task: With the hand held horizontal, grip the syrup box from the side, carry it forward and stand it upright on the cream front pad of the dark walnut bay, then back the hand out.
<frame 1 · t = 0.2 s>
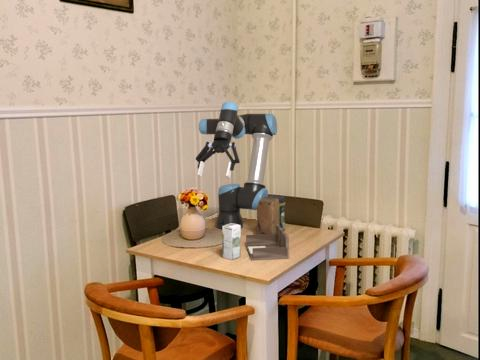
hand: (213, 176, 192), 35 cm above the table, tool tilted 35°, fingers open, 13 cm apart
coffee jar: (275, 229, 239), on the table
bay: (265, 251, 201), on the table
block: (267, 237, 224), on the table
syrup box: (231, 258, 193), on the table
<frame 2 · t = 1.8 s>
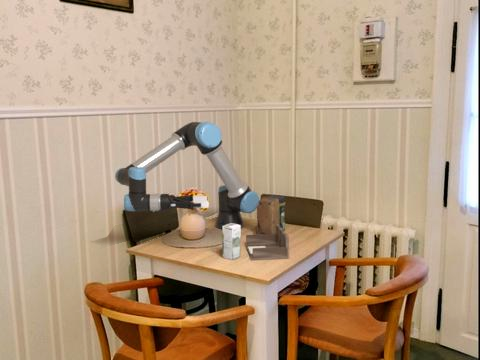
hand: (208, 201, 201), 22 cm above the table, tool horizontal, fingers open, 13 cm apart
nothing on the table moved.
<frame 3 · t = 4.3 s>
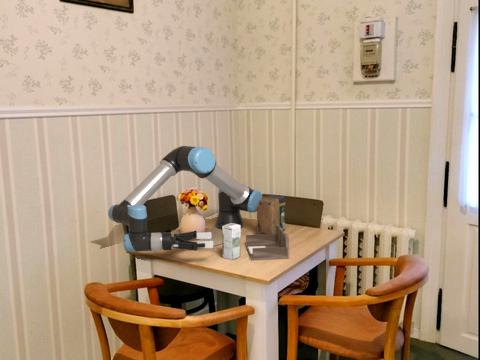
hand: (212, 239, 191), 8 cm above the table, tool horizontal, fingers open, 13 cm apart
nothing on the table moved.
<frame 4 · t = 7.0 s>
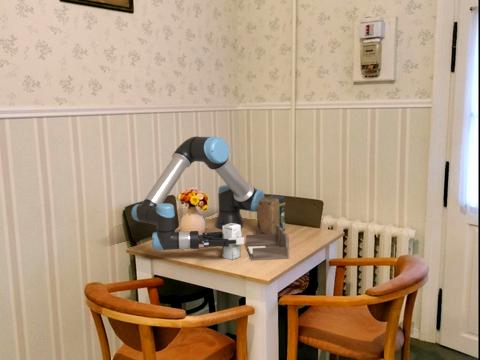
hand: (242, 237, 192), 9 cm above the table, tool horizontal, fingers closed on syrup box, 8 cm apart
syrup box: (231, 257, 193), on the table, touching gripper
everything else where it was.
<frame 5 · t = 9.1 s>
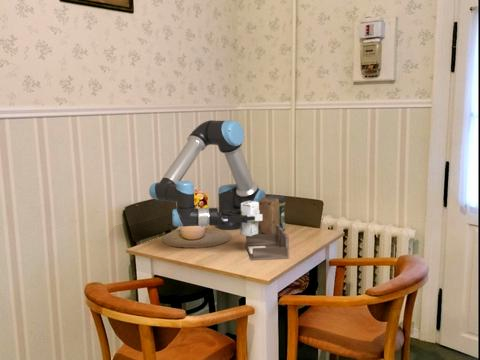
hand: (260, 215, 195), 18 cm above the table, tool horizontal, fingers closed on syrup box, 8 cm apart
syrup box: (249, 234, 196), point 9 cm above the table, touching gripper
everything else where it was.
when the fingers open (11 cm above the table, at t = 11.1 s): syrup box drops 1 cm, resting on bay.
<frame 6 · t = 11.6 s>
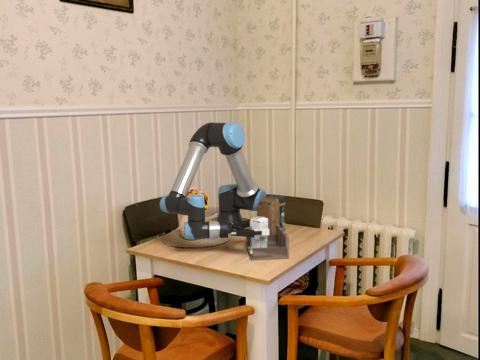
hand: (266, 227, 199), 11 cm above the table, tool horizontal, fingers open, 13 cm apart
syrup box: (259, 250, 200), point 1 cm above the table, touching bay
everything else where it was.
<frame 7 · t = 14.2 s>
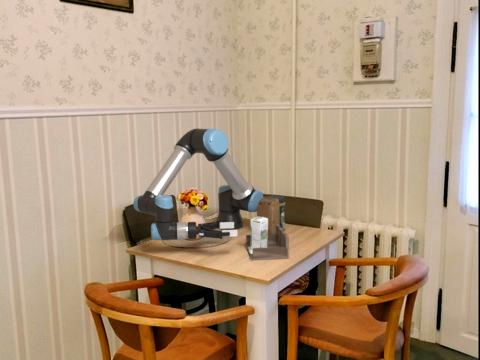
hand: (235, 228, 198), 11 cm above the table, tool horizontal, fingers open, 13 cm apart
nothing on the table moved.
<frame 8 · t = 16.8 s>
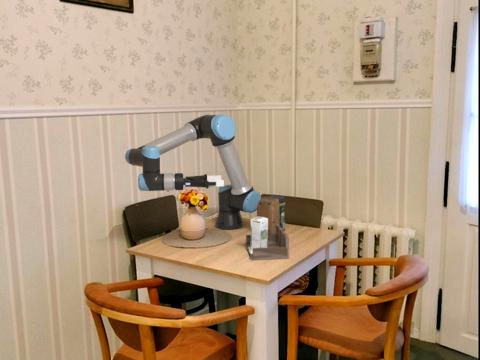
hand: (222, 180, 199), 32 cm above the table, tool horizontal, fingers open, 13 cm apart
nothing on the table moved.
at the end: syrup box inside the target area on the bay (0.5 cm from its centre), point 0.9 cm above the bay's base; syrup box tilted 0°; the gripper is holding nothing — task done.
